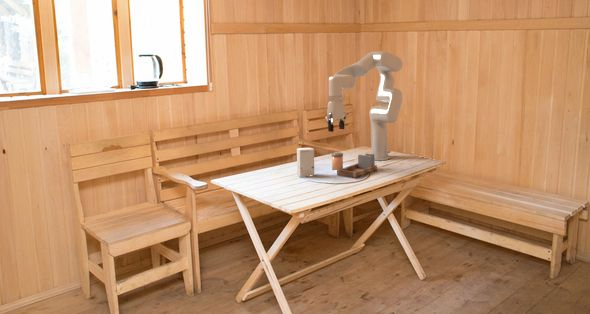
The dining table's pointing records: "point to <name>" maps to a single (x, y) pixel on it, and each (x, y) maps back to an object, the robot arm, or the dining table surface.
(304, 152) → the skincare box
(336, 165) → the jar
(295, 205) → the dining table surface
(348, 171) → the brown wooden tray
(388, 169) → the dining table surface
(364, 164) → the pusher
